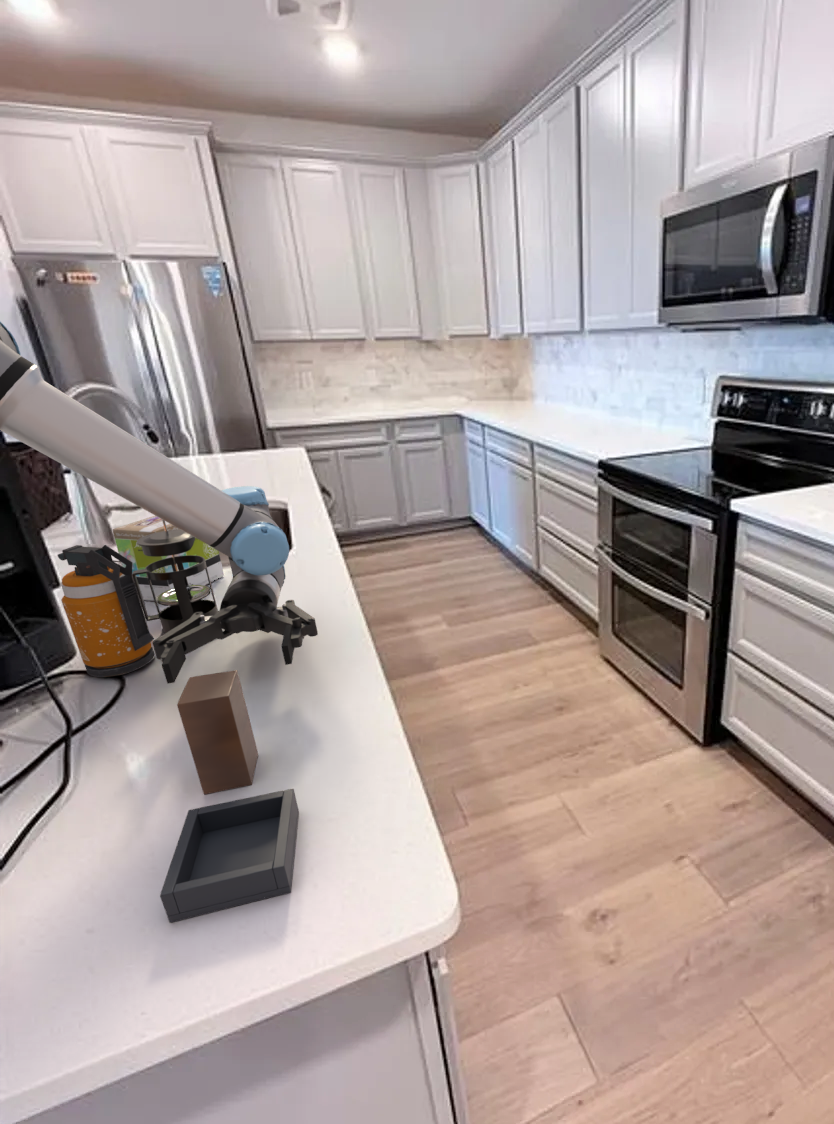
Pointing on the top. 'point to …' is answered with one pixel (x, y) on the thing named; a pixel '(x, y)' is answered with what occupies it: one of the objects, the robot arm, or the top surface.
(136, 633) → the canister
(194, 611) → the french press
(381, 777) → the top surface
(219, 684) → the brown rectangular block
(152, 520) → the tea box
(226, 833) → the socket pad
